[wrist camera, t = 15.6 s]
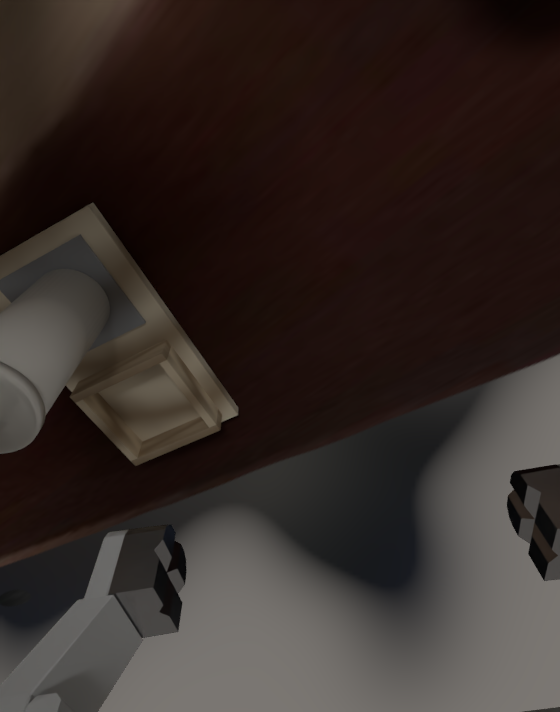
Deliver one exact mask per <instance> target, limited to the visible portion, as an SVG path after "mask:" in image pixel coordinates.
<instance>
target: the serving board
mask: <svg viewBox="0 0 560 712" xmlns="http://www.w3.org/2000/svg"><path fill="white" fill-rule="evenodd" d="M56 269H72V270H76V271H79V272H82V273H84V274H86V275H88V276H89V277H91V278H92V279H94V280H95V281H96V282H97V283H98V284H99V285H100V286H101V287H102V289H103V290H104V292H105V293H106V295H107V297H108V300H109V304H110V315H109V318H108V321H107V323H106V324H105V326H104V327H103V329H102V330H101V332H100V333H99V335H98V336H97V338H96V339H95V341H94V343H93V344H92V346H91V347H90V349H89V350H88V352H87V353H86V355H85V356H84V358H83V359H82V361H81V362H80V364H79V365H78V367H77V368H76V370H75V371H74V373H73V375H72V376H71V378H70V379H69V381H68V382H67V384H66V386H67V387H68V389H69V390H70V391H71V392H72V394H71V395H70V398H71V399H72V400H73V401H74V402H75V403H76V404H77V405H78V406H79V407H80V408H81V409H82V410H83V412H84V413H85V414H86V415H87V416H88V417H89V418H90V419H91V420H92V421H93V422H94V423H95V424H96V425H97V426H98V427H99V428H100V429H101V430H102V431H103V432H104V434H105V435H106V436H107V437H108V438H109V439H110V440H111V441H112V442H113V443H114V444H115V445H116V446H117V447H118V448H119V449H120V450H121V451H122V452H123V453H124V454H125V456H126V457H127V458H128V459H129V460H130V461H131V462H132V463H133V464H134V465H135V466H137V465H139V464H141V463H144V462H146V461H149V460H151V459H153V458H156V457H158V456H160V455H163V454H165V453H167V452H170V451H172V450H175V449H177V448H179V447H182V446H184V445H186V444H189V443H191V442H194V441H196V440H198V439H201V438H203V437H205V436H208V435H210V434H213V433H215V432H217V431H220V430H221V422H223V421H225V420H228V419H230V418H232V417H235V416H237V415H238V407H237V405H236V404H235V402H234V401H233V400H232V398H231V397H230V395H229V394H228V393H227V391H226V390H225V388H224V387H223V385H222V384H221V383H220V381H219V380H218V378H217V377H216V376H215V374H214V373H213V371H212V370H211V368H210V367H209V366H208V364H207V363H206V361H205V360H204V359H203V357H202V356H201V354H200V353H199V351H198V350H197V349H196V347H195V346H194V344H193V343H192V342H191V340H190V339H189V337H188V336H187V334H186V333H185V332H184V330H183V329H182V327H181V326H180V325H179V323H178V322H177V320H176V319H175V317H174V316H173V315H172V313H171V312H170V310H169V309H168V308H167V306H166V305H165V303H164V302H163V301H162V299H161V298H160V296H159V295H158V293H157V292H156V291H155V289H154V288H153V286H152V285H151V284H150V282H149V281H148V279H147V278H146V276H145V275H144V274H143V272H142V271H141V269H140V268H139V267H138V265H137V264H136V262H135V261H134V259H133V258H132V257H131V255H130V254H129V252H128V251H127V250H126V248H125V247H124V245H123V244H122V242H121V241H120V240H119V238H118V237H117V235H116V234H115V233H114V231H113V230H112V228H111V227H110V226H109V224H108V223H107V221H106V220H105V218H104V217H103V216H102V214H101V213H100V211H99V210H98V209H97V207H96V206H95V204H94V203H91V204H89V205H88V206H86V207H84V208H82V209H81V210H79V211H77V212H75V213H74V214H72V215H70V216H68V217H67V218H65V219H63V220H62V221H60V222H58V223H56V224H55V225H53V226H51V227H49V228H48V229H46V230H44V231H42V232H41V233H39V234H37V235H36V236H34V237H32V238H30V239H29V240H27V241H25V242H23V243H22V244H20V245H18V246H16V247H15V248H13V249H11V250H10V251H8V252H6V253H4V254H3V255H1V256H0V313H1V312H2V311H3V310H4V309H5V308H6V307H7V306H9V305H10V304H11V303H12V302H13V301H14V300H15V299H17V298H18V297H19V296H20V295H21V294H22V293H23V292H25V291H26V290H27V289H28V288H29V287H30V286H31V285H33V284H34V283H35V282H36V281H37V280H38V279H39V278H41V277H42V276H43V275H44V274H46V273H47V272H49V271H52V270H56Z"/></svg>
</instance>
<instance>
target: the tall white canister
mask: <svg viewBox="0 0 560 712" xmlns="http://www.w3.org/2000/svg"><path fill="white" fill-rule="evenodd" d="M109 315H110V304H109V300H108V297H107V295H106V293H105V292H104V290H103V289H102V287H101V286H100V285H99V284H98V283H97V282H96V281H95V280H94V279H92V278H91V277H89V276H88V275H86V274H84V273H82V272H79V271H76V270H72V269H56V270H52V271H49V272H47V273H46V274H44V275H43V276H42V277H41V278H39V279H38V280H37V281H36V282H35V283H34V284H33V285H31V286H30V287H29V288H28V289H27V290H26V291H25V292H23V293H22V294H21V295H20V296H19V297H18V298H17V299H15V300H14V301H13V302H12V303H11V304H10V305H9V306H7V307H6V308H5V309H4V310H3V311H2V312H1V313H0V454H2V453H10V452H14V451H17V450H20V449H22V448H24V447H26V446H27V445H29V444H30V443H31V442H32V441H33V440H34V439H35V437H36V436H37V434H38V433H39V431H40V430H41V428H42V426H43V424H44V421H45V416H46V414H47V413H48V411H49V410H50V408H51V407H52V405H53V404H54V402H55V400H56V399H57V397H58V396H59V394H60V393H61V391H62V390H63V388H64V387H65V385H66V384H67V382H68V381H69V379H70V378H71V376H72V375H73V373H74V371H75V370H76V368H77V367H78V365H79V364H80V362H81V361H82V359H83V358H84V356H85V355H86V353H87V352H88V350H89V349H90V347H91V346H92V344H93V343H94V341H95V339H96V338H97V336H98V335H99V333H100V332H101V330H102V329H103V327H104V326H105V324H106V323H107V321H108V318H109Z"/></svg>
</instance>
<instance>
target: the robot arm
mask: <svg viewBox="0 0 560 712" xmlns="http://www.w3.org/2000/svg"><path fill="white" fill-rule="evenodd" d="M510 484H511V485H512V486H513V488H514V490H513V491H512V492H511V493H510V494H509V495H508V500H507V508H508V513H509V518H510V520H511V523H512V525H513V527H514V529H515V531H516V533H517V535H518V536H519V537H520V538H522V539H524V540H525V541H527V542H528V543H530V548H529V553H528V554H529V556H530V557H531V559H532V561H533V562H534V564H535V566H536V568H537V569H538V571H539V573H540V574H541V576H542V578H543V580H544V581H548V580H557V579H560V464H559V465H550V466H544V467H538V468H532V469H526V470H519V471H514V472H513V474H512V475H511V479H510ZM175 534H176V532H175V530H174V529H173V527H172V525H171V524H169V525H161V526H153V527H145V528H136V529H129V530H122V531H114V532H109V533H108V534H107V535H106V537H105V538H104V540H103V543H102V545H101V549H100V552H99V555H98V558H97V561H96V564H95V567H94V570H93V573H92V576H91V579H90V582H89V585H88V588H87V591H86V594H85V597H84V599H80V600H77V601H76V603H74V605H73V606H72V607H71V608H70V609H69V610H68V611H67V612H66V613H65V614H64V616H63V617H62V618H61V619H60V620H59V621H58V622H57V623H56V625H54V627H53V628H52V629H51V630H50V631H49V632H48V633H47V634H46V635H45V636H44V638H43V639H42V640H41V641H40V642H39V643H38V644H37V645H36V646H35V648H34V649H33V650H32V651H31V652H30V653H29V654H28V655H27V656H26V657H25V659H24V660H23V661H22V662H21V663H20V664H19V665H18V666H17V667H16V668H15V670H14V671H13V672H12V673H11V674H10V675H9V676H8V677H7V678H6V679H5V681H4V682H3V683H2V684H1V685H0V712H98V711H99V709H100V707H101V706H102V704H103V703H104V701H105V700H106V698H107V696H108V695H109V693H110V692H111V690H112V688H113V687H114V685H115V684H116V682H117V680H118V679H119V677H120V676H121V674H122V673H123V671H124V669H125V668H126V666H127V665H128V663H129V661H130V660H131V658H132V657H133V655H134V653H135V652H136V650H137V649H138V647H139V646H140V644H141V642H142V641H143V639H142V638H145V637H151V636H156V635H163V634H169V633H174V632H178V630H179V622H180V616H181V608H182V601H181V600H180V597H179V595H178V593H179V591H180V590H181V589H182V587H183V586H184V585H185V579H186V558H185V553H184V550H183V548H182V545H181V544H180V543H178V542H176V541H175ZM525 712H560V707H557V708H549V709H541V710H533V711H525Z"/></svg>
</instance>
